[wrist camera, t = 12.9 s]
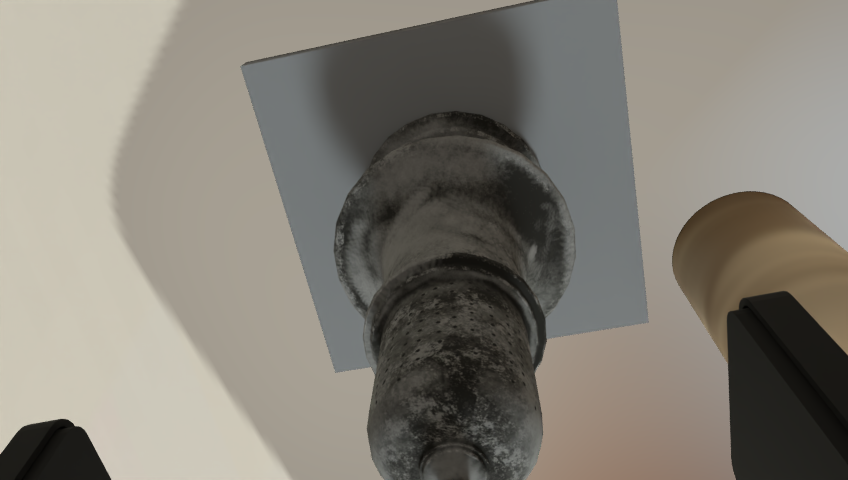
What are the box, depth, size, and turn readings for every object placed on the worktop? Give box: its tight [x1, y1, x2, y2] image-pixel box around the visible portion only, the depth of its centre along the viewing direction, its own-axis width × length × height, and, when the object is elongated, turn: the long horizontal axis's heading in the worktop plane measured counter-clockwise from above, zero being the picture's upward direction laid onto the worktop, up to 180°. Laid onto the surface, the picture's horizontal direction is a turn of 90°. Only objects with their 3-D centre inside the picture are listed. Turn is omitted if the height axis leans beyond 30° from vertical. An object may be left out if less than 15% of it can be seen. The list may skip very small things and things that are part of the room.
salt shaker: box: [333, 111, 576, 480], centre depth 15 cm, size 6×6×12 cm
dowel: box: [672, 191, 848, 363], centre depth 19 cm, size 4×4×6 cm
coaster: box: [241, 0, 649, 372], centre depth 21 cm, size 10×10×1 cm
